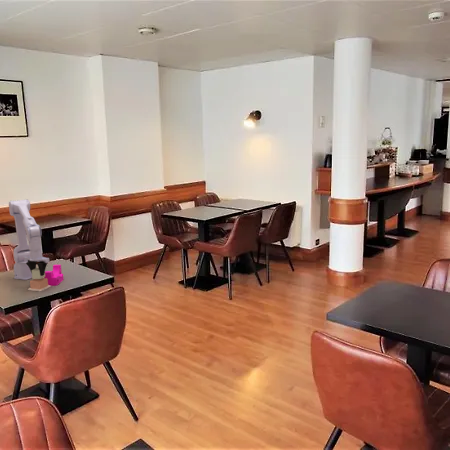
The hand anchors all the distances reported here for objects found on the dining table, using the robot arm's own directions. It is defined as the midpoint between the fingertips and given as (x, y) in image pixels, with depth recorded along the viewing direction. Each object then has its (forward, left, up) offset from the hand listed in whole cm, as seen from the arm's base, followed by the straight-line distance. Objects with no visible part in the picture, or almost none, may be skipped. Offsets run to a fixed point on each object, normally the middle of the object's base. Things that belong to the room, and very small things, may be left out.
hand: (38, 274), depth 236 cm
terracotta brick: (0, 0, -7) cm, 7 cm away
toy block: (0, +12, -8) cm, 14 cm away
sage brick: (0, 0, -2) cm, 2 cm away
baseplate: (0, 0, -7) cm, 7 cm away
